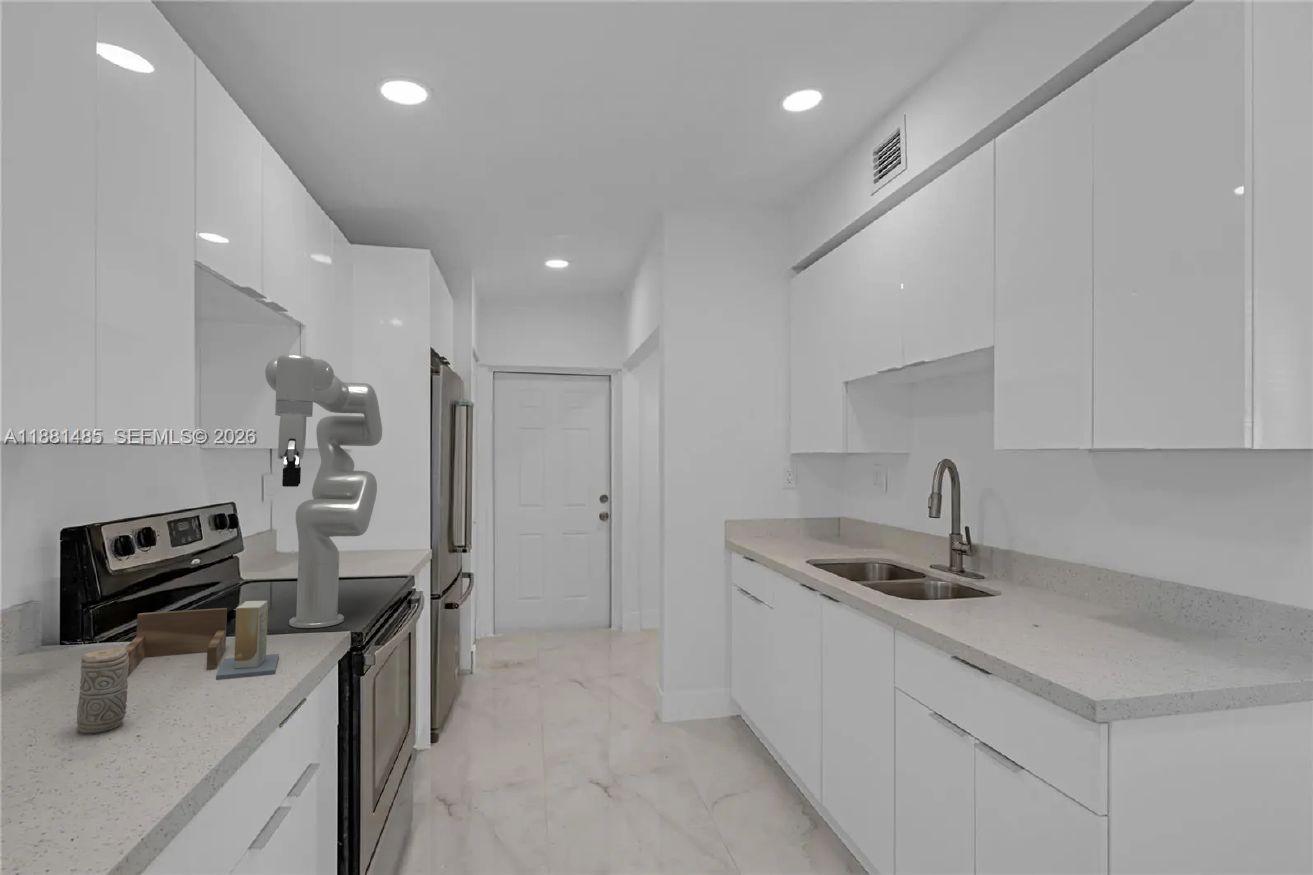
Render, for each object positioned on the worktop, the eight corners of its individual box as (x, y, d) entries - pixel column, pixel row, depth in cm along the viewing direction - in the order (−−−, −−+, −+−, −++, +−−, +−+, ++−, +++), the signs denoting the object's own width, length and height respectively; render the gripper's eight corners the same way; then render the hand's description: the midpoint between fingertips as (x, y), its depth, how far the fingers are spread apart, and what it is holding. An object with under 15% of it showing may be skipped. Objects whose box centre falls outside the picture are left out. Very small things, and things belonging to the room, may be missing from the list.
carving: (80, 740, 106) (83, 660, 107) (71, 726, 112) (74, 650, 112) (131, 728, 111) (134, 652, 111) (121, 716, 116) (124, 643, 117)
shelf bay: (137, 656, 149) (139, 613, 149) (225, 648, 156) (227, 607, 156) (117, 678, 135) (119, 631, 135) (215, 669, 141) (216, 624, 142)
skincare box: (243, 659, 145) (245, 600, 146) (266, 659, 146) (269, 599, 147) (232, 669, 139) (234, 607, 139) (257, 668, 140) (259, 606, 140)
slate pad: (224, 662, 146) (224, 658, 146) (278, 657, 150) (278, 653, 150) (215, 679, 135) (216, 675, 135) (274, 674, 139) (275, 669, 139)
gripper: (277, 410, 165) (275, 483, 165) (272, 406, 150) (269, 487, 149) (313, 412, 168) (310, 483, 168) (311, 408, 153) (309, 487, 152)
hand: (291, 485), depth 159 cm, fingers open, 9 cm apart
